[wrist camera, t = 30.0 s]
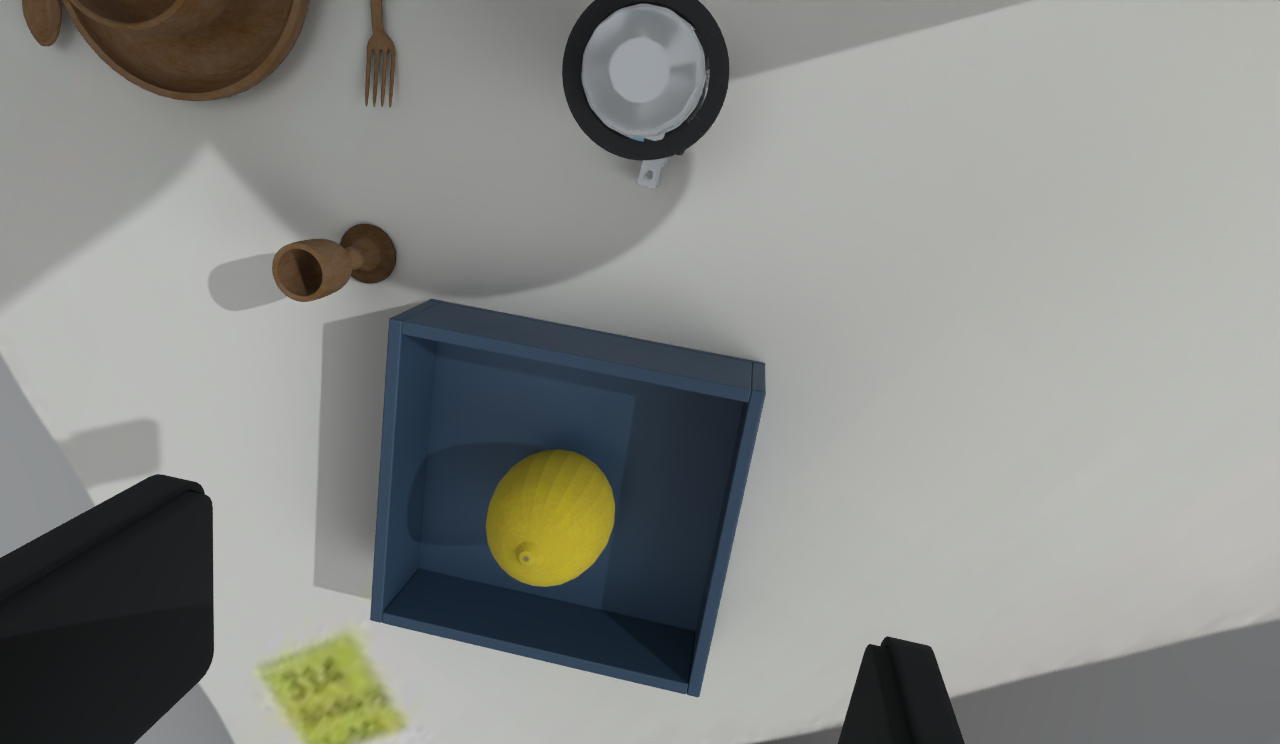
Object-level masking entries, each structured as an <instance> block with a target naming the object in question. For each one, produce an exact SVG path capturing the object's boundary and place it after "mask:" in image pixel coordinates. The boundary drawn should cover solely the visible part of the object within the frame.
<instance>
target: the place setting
mask: <svg viewBox="0 0 1280 744" xmlns="http://www.w3.org/2000/svg"><path fill="white" fill-rule="evenodd" d="M62 1H63V3H64V5H65V8H66V10H67V12H68V14H69V15H70V17H71V19H72V21H73V22H74V24H75V26H76V28H77V29H78V30H79V32H80V33H81V35H82V36H83V37H84V39H85V40H86V42H87V43H88V44H89V45H90V46H91V48H92V49H93V50H94V51H95V52H96V53H97V54H98V56H99V57H100V58H101V59H102V60H104V61H105V62H106V63H107V64H108V65H109V66H110V67H111V68H112V69H113V70H115V71H116V72H117V73H119V74H120V75H121V76H123V77H124V78H126V79H127V80H128V81H130V82H132V83H134V84H136V85H137V86H139V87H141V88H143V89H145V90H148V91H150V92H153V93H155V94H158V95H161V96H165V97H169V98H173V99H179V100H189V101H205V100H216V99H221V98H226V97H230V96H233V95H236V94H238V93H241V92H244V91H246V90H248V89H250V88H251V87H253V86H255V85H256V84H258V83H260V82H261V81H262V80H264V79H265V78H266V77H267V76H269V75H270V74H271V73H272V72H273V71H274V70H275V69H276V68H277V67H278V66H279V65H280V64H281V62H282V61H283V60H284V59H285V57H286V56H287V54H288V53H289V52H290V50H291V49H292V47H293V46H294V44H295V41H296V39H297V37H298V35H299V33H300V31H301V29H302V26H303V23H304V20H305V17H306V14H307V9H308V5H309V0H62ZM22 6H23V13H24V17H25V20H26V23H27V25H28V27H29V29H30V31H31V33H32V35H33V36H34V38H35V39H36V40H37V42H38V43H39V44H40V45H42V46H51V45H52V44H53V43H54V42H55V41H56V39H57V37H58V34H59V31H60V27H61V20H62V10H61V3H60V0H22ZM371 14H372V28H373V35H372V37H371V39H370V40H369V42H368V46H367V66H366V88H365V103H366V106H367V103H368V96H369V84H370V67H371V52H372V50H374V52H375V67H374V87H373V105H374V106H375V103H376V95H377V84H378V67H379V52H380V50H382V52H383V68H382V87H381V106H383V103H384V95H385V84H386V68H387V51H388V50H390V52H391V69H390V88H389V106H390V107H391V103H392V95H393V85H394V70H395V49H394V45H393V43H392V41H391V40H390V38H389V37H388V36H387V35H386V33H385V31H384V28H383V19H382V0H371ZM395 262H396V252H395V248H394V245H393V243H392V241H391V239H390V238H389V236H388V235H387V234H386V233H385V232H384V231H382V230H381V229H380V228H378V227H376V226H373V225H369V224H360V225H356V226H354V227H352V228H350V229H349V230H348V231H347V232H346V233H345V234H344V235H343V237H342V239H341V242H340V245H339V244H338V243H336V242H334V241H331V240H327V239H310V240H304V241H299V242H295V243H291V244H288V245H286V246H284V247H282V248H281V249H280V250H279V251H278V252H277V254H276V255H275V257H274V260H273V267H272V269H273V276H274V279H275V282H276V284H277V286H278V287H279V289H280V290H281V291H282V292H283V293H284V294H285V295H286V296H288V297H289V298H291V299H293V300H296V301H300V302H308V301H313V300H316V299H320V298H322V297H325V296H328V295H330V294H332V293H334V292H336V291H338V290H339V289H341V288H342V287H343V286H344V285H345V284H346V283H347V282H348V280H349V279H350V276H352V277H353V278H355V279H357V280H358V281H361V282H364V283H377V282H380V281H382V280H384V279H386V278H387V277H388V276H389V275H390V274H391V272H392V271H393V269H394V266H395Z"/></svg>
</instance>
